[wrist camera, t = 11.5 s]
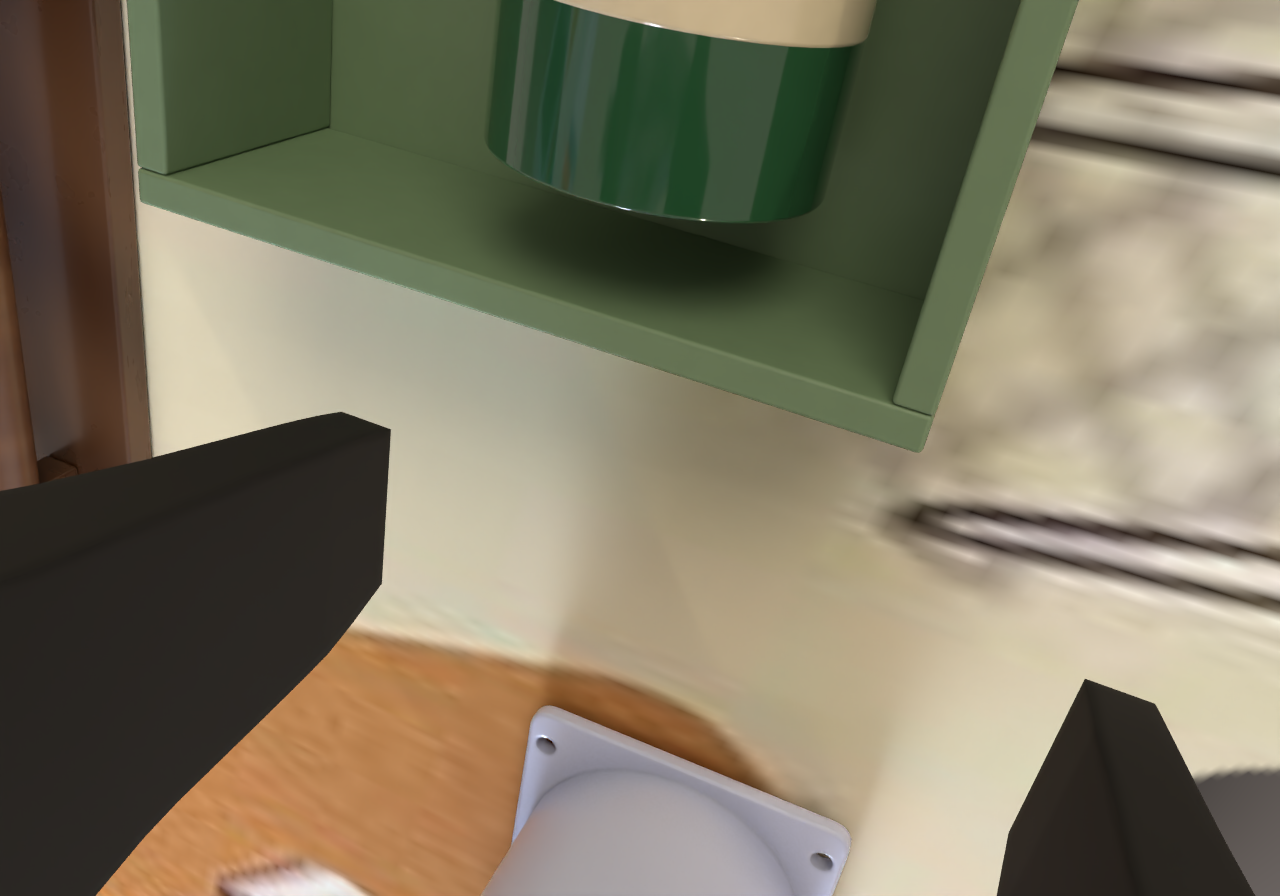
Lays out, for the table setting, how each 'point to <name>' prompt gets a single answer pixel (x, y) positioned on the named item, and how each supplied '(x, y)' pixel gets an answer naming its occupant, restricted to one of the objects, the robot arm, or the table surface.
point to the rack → (67, 247)
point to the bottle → (676, 101)
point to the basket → (594, 233)
